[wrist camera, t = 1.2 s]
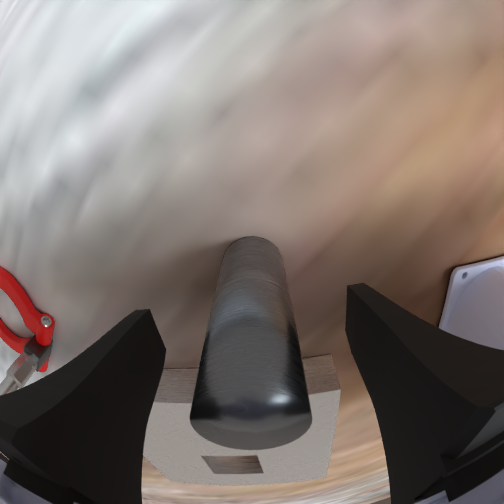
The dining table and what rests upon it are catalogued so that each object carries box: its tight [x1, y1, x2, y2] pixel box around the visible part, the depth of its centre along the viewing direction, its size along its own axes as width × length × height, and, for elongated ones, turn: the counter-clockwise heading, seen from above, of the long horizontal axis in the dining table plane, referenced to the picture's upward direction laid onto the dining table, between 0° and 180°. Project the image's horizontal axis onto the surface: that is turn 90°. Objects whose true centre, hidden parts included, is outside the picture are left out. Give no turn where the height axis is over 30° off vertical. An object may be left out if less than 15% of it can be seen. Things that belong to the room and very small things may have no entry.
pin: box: [190, 236, 312, 450], centre depth 10 cm, size 3×3×9 cm
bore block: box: [143, 354, 341, 485], centre depth 19 cm, size 16×16×3 cm
